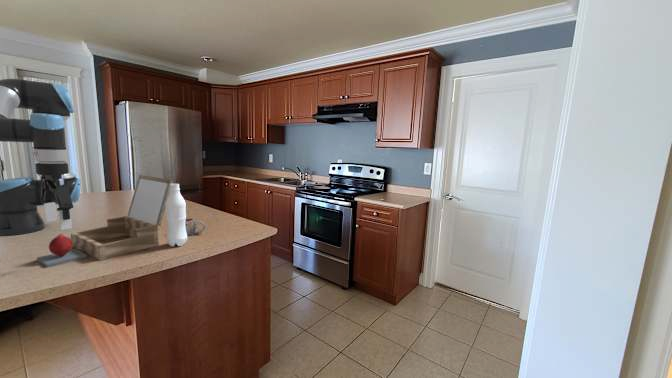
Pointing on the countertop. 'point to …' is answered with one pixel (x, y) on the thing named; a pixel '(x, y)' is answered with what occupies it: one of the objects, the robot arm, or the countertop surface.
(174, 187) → the water bottle
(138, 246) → the box
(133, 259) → the countertop surface
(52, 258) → the slate mat
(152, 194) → the lid
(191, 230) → the mug
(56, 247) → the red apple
